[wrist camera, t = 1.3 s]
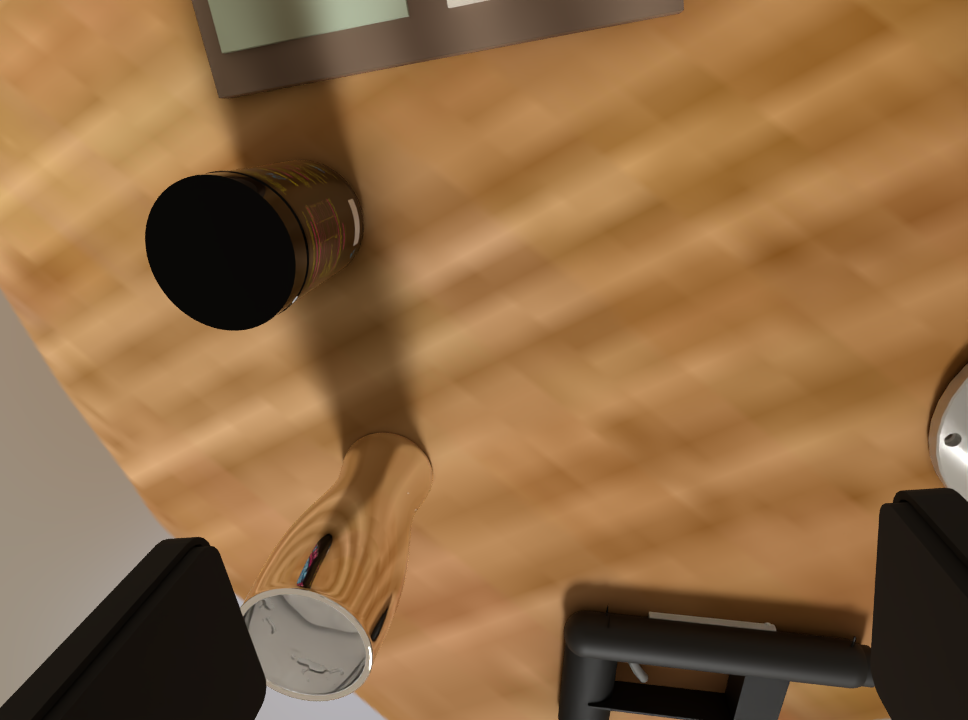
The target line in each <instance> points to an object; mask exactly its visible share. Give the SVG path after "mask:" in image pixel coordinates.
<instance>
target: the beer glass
mask: <svg viewBox="0 0 968 720" xmlns="http://www.w3.org/2000/svg"><path fill="white" fill-rule="evenodd" d="M432 481H433V474H432V468H431V465H430V462H429V460H428V458H427V456H426V455H425V453H424V452H423V451H422V450H421V449H420V448H419V447H418V446H417V445H416V444H415V443H413V442H412V441H410V440H409V439H407V438H405V437H403V436H400V435H397V434H393V433H385V432H380V433H373V434H369V435H366V436H364V437H362V438H360V439H359V440H357V441H356V442H355V443H354V444H353V445H352V446H351V447H350V448H349V450H348V451H347V453H346V455H345V458H344V460H343V464H342V467H341V471H340V474H339V477H338V479H337V481H336V482H335V483H334V485H333V486H332V487H331V488H330V489H329V490H328V491H327V492H325V493H324V494H323V495H322V496H321V497H320V498H319V499H318V500H317V501H316V502H315V503H313V504H312V505H311V506H310V507H309V508H308V509H307V510H306V511H305V512H304V513H303V514H302V515H301V516H300V517H299V518H298V519H297V520H296V521H295V522H294V524H293V525H292V526H291V527H290V528H289V529H288V530H287V532H286V533H285V534H284V536H283V537H282V538H281V540H280V541H279V542H278V544H277V545H276V547H275V548H274V549H273V551H272V553H271V554H270V556H269V557H268V559H267V561H266V562H265V564H264V566H263V567H262V569H261V571H260V573H259V574H258V576H257V578H256V580H255V582H254V584H253V586H252V587H251V589H250V591H249V593H248V595H247V597H246V599H245V601H244V603H243V605H242V606H241V607H240V610H241V612H242V615H243V618H244V620H245V623H246V626H247V629H248V631H249V634H250V637H251V639H252V642H253V645H254V648H255V650H256V653H257V656H258V658H259V661H260V664H261V666H262V669H263V672H264V675H265V678H266V685H267V686H268V687H270V688H271V689H273V690H275V691H277V692H279V693H282V694H284V695H287V696H290V697H293V698H297V699H301V700H308V701H328V700H334V699H338V698H341V697H344V696H346V695H348V694H351V693H352V692H354V691H355V690H357V689H358V688H359V687H360V686H361V685H362V684H363V683H364V682H365V681H366V679H367V677H368V676H369V674H370V671H371V669H372V665H373V663H374V660H375V658H376V656H377V654H378V652H379V650H380V648H381V646H382V643H383V641H384V639H385V637H386V634H387V632H388V630H389V628H390V625H391V623H392V620H393V618H394V615H395V612H396V610H397V607H398V604H399V601H400V597H401V594H402V590H403V587H404V583H405V577H406V572H407V566H408V558H409V548H410V537H411V528H412V521H413V518H414V515H415V513H416V512H417V510H418V509H419V507H420V506H421V505H422V504H423V502H424V501H425V499H426V498H427V496H428V494H429V492H430V490H431V487H432Z"/></svg>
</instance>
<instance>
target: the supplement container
mask: <svg viewBox="0 0 968 720" xmlns="http://www.w3.org/2000/svg"><path fill="white" fill-rule="evenodd" d="M363 226H364V224H363V215H362V210H361V207H360V204H359V201H358V199H357V197H356V195H355V193H354V191H353V190H352V188H351V187H350V186H349V184H348V183H347V182H346V181H345V180H344V179H343V178H342V177H341V176H340V175H339V174H338V173H336V172H335V171H334V170H332V169H331V168H329V167H327V166H325V165H323V164H320V163H318V162H314V161H309V160H291V161H285V162H279V163H273V164H267V165H261V166H255V167H249V168H242V169H236V170H230V171H225V170H224V171H215V172H210V173H206V174H201V175H195V176H190V177H187V178H184V179H182V180H179V181H177V182H175V183H174V184H172V185H171V186H169V187H168V188H167V189H166V190H165V191H164V192H163V193H162V194H161V195H160V196H159V197H158V199H157V200H156V202H155V203H154V205H153V207H152V209H151V211H150V214H149V216H148V220H147V225H146V232H145V244H146V252H147V257H148V261H149V264H150V267H151V270H152V272H153V275H154V277H155V279H156V281H157V282H158V284H159V286H160V287H161V289H162V290H163V292H164V293H165V294H166V296H167V297H168V298H169V299H170V300H171V301H172V302H173V303H174V305H176V306H177V307H178V308H179V309H180V310H181V311H183V312H184V313H185V314H187V315H188V316H190V317H191V318H193V319H194V320H196V321H198V322H200V323H202V324H205V325H207V326H210V327H213V328H217V329H222V330H237V331H238V330H246V329H251V328H254V327H257V326H259V325H262V324H264V323H266V322H267V321H269V320H270V319H272V318H273V317H275V316H276V315H278V314H280V313H281V312H283V311H285V310H286V309H287V308H289V307H290V306H291V305H292V304H293V303H294V302H295V301H297V300H298V299H300V298H301V297H302V296H304V295H305V294H307V293H308V292H310V291H311V290H313V289H314V288H316V287H317V286H318V285H320V284H321V283H323V282H324V281H326V280H327V279H329V278H330V277H332V276H333V275H334V274H336V273H337V272H339V271H340V270H342V269H343V268H344V267H346V266H347V265H348V264H349V263H350V262H351V261H352V259H353V258H354V257H355V255H356V253H357V252H358V249H359V247H360V244H361V241H362V237H363Z"/></svg>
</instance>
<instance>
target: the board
mask: <svg viewBox="0 0 968 720" xmlns="http://www.w3.org/2000/svg"><path fill="white" fill-rule="evenodd" d="M192 3H193V7H194V10H195V14H196V18H197V21H198V25H199V28H200V32H201V35H202V39H203V43H204V46H205V50H206V53H207V57H208V60H209V64H210V68H211V71H212V75H213V78H214V82H215V85H216V89H217V93H218V96H219V98H233V97H239V96H244V95H249V94H255V93H260V92H265V91H271V90H276V89H281V88H286V87H292V86H297V85H302V84H308V83H313V82H318V81H324V80H329V79H334V78H339V77H345V76H350V75H355V74H361V73H366V72H371V71H377V70H382V69H387V68H392V67H398V66H403V65H408V64H414V63H419V62H424V61H429V60H435V59H440V58H445V57H451V56H456V55H461V54H467V53H472V52H477V51H482V50H488V49H493V48H498V47H504V46H509V45H514V44H520V43H525V42H530V41H535V40H541V39H546V38H551V37H557V36H562V35H567V34H573V33H578V32H583V31H588V30H594V29H599V28H604V27H610V26H615V25H620V24H626V23H631V22H636V21H641V20H647V19H652V18H657V17H663V16H668V15H673V14H679V13H681V12H682V11H683V10H684V3H683V0H192Z"/></svg>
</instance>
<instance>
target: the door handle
mask: <svg viewBox="0 0 968 720" xmlns="http://www.w3.org/2000/svg"><path fill="white" fill-rule="evenodd" d="M564 638H565V651H564V662H563V672H562V682H561V693H560V703H559V713H558V719H559V720H609V716H610V711H618V712H626V713H634V714H643V715H651V716H659V717H667V718H675V719H683V720H778V717H779V714H780V711H781V707H782V704H783V701H784V698H785V695H786V692H787V689H788V685H789V682H790V681H792V682H800V683H809V684H818V685H826V686H835V687H844V688H858V687H861V686H864V687H874V686H875V685H874V682H873V678H872V674H871V665H870V660H871V648H870V647H869V646H867V645H859V644H857V643H855V641H856V640H855V639H856V637H855V636H854V638H853V641H851V640H849V639H844V638H834V637H825V636H816V635H807V634H797V633H788V632H779V631H776V628H775V625H773V624H771V623H768V622H766V623H754V622H745V621H735V620H725V619H716V618H706V617H697V616H687V615H677V614H668V613H658V612H649V614H648V617H639V616H630V615H620V614H611V613H608V607H607V611H606V613H602V612H592V611H579V612H576V613H574V614H573V615H572V616H570V618H569V619H568V620H567V622H566V624H565V628H564ZM617 662H627V663H629V665H630V667H631V669H632V671H633V672H634V674H635V675H636V676H637V678H638V679H639V680H640V681H641V682H642V683H644V682H646V681H647V680H648V675H647V674H646V673H645V671H644V670H643V669H642V668H641V666H640V665H639V664H644V665H653V666H662V667H670V668H679V669H688V670H696V671H705V672H714V673H722V674H729V677H728V682H727V687H726V691H725V693H718V692H709V691H701V690H692V689H683V688H675V687H666V686H657V685H649V684H640V683H632V682H623V681H615V675H616V669H617Z"/></svg>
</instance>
